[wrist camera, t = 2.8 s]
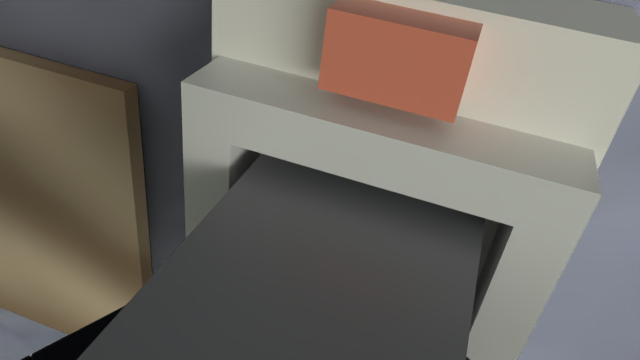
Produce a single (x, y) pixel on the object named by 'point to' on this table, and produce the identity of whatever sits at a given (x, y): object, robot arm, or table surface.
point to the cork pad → (69, 193)
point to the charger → (307, 277)
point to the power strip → (427, 120)
